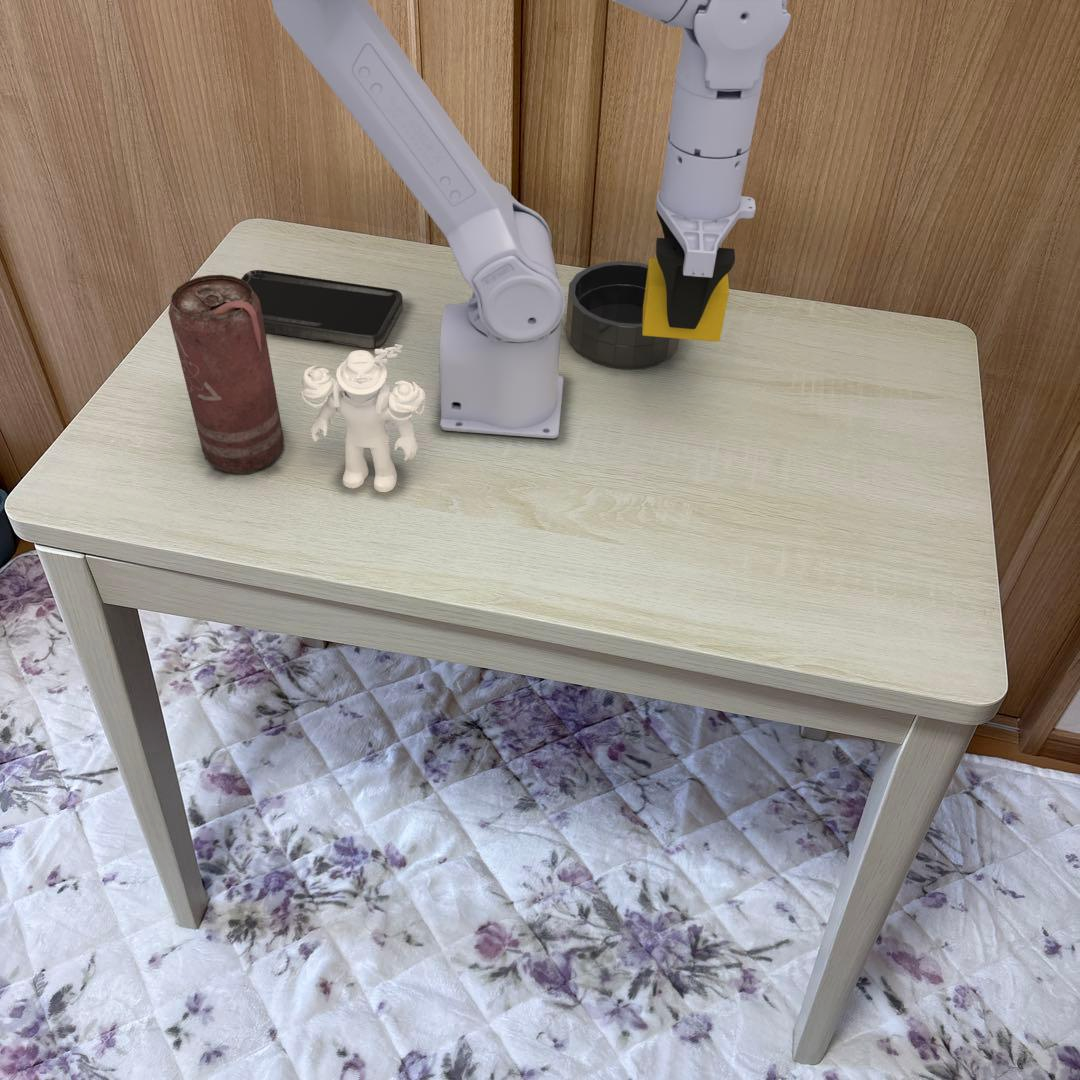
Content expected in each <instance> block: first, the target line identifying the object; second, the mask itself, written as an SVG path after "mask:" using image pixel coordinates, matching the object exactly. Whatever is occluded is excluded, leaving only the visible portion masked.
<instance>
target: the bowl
mask: <svg viewBox="0 0 1080 1080" xmlns="http://www.w3.org/2000/svg"><path fill="white" fill-rule="evenodd" d="M648 265H649V264H648V263H642V262H637V261H624V260H617V261H608V262H601V263H597V264H594V265H590V266H587V267H585V268H584V269H582V270H581V271H579V272H578V273H576V274H575V275H574V276H573V278H572V279H571V281H570V282H569V284H568V291H567V302H566V303H567V304H566V321H565V332H566V335H567V338H568V340H569V342H570V344H571V346H572V347H573V349H574V350H575V351H576V352H577V353H578V354H579V355H581V356H582V357H584V358H585V359H587V360H588V361H590V362H592V363H595V364H597V365H600V366H603V367H607V368H610V369H611V368H612V369H618V370H640V369H641V370H642V369H647V368H652V367H654V366H658V365H660V364H663V363H664V362H665V361H667V360H669V359H670V358H671V357H672V356H673V355H674V354H675V353H676V351H678V349H679V347H680V346H681V344H682V342H683V340H684V339H679V338H667V337H655V336H643V335H642V326H643V304H644V296H645V288H646V280H647V273H648Z"/></svg>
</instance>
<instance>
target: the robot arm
mask: <svg viewBox="0 0 1080 1080" xmlns="http://www.w3.org/2000/svg"><path fill="white" fill-rule="evenodd" d="M611 1H612V2H614V3H616V4H619V5H621V6H623V7H624V8H626V9H627V8H628V9H630V10H632V11H634V12H636V13H638V14H640V15H643V16H645V17H648V18H650V19H652V20H655V21H657V22H659V23H661V24H663V25H665V26H667V27H671V28H682V36H681V44H680V49H679V50H680V52H679V59H678V63H677V66H676V69H675V70H676V71H675V79H674V85H673V86H674V88H673V94H672V101H671V109H670V114H669V115H670V118H669V123H668V131H667V137H666V147H665V152H664V153H665V154H664V162H663V168H662V175H661V184H660V189H659V190H658V192H657V194H656V200H655V208H656V215H657V217H658V221H659V223H660V226H661V229H662V234H663V236H664V237H656V240H655V255H656V258H657V260H658V264H659V266H660V268H661V270H662V273H663V276H664V279H665V284H666V293H667V317H668V323H669V327H672V328H684V329H696V327H697V325H698V323H699V321H700V319H701V317H702V315H703V313H704V310H705V308H706V306H707V303H708V301H709V299H710V297H711V295H712V293H713V291H714V289H715V288H716V286H717V285H718V283H719V282H720V281H721V279H722V278H723V277H724V276H725V275H726V274H727V273H728V274H729V273H730V272H731V270H732V268H733V267H734V264H735V261H736V252H735V251H736V250H735V248H730V247H729V248H728V247H721V246H722V244H723V243H724V241H725V239H726V238H727V237H728V235H729V234H730V232H731V230H732V229H734V226H735V225H736V223H737V222H738V221H739V220H740V219H747V220H748V219H750V220H751V219H753V218H754V217H755V215H756V210H757V207H756V200H755V199H754V198H753V197H751V196H744V195H742V194H743V193H742V192H743V188H744V182H745V178H746V171H747V167H748V162H749V156H750V151H751V147H752V141H753V136H754V131H755V125H756V121H757V114H758V109H759V105H760V99H761V95H762V88H763V85H764V73H765V68H766V63H767V59H768V58H767V57H768V55H769V54H770V53H771V52H772V51H773V50H774V48H776V46H778V44H779V43H780V41H781V40H782V39H783V37H784V36H785V33H786V32H787V30H788V27H789V26H790V25H789V24H790V22H791V18H792V15H791V14H790V13H789V12H788V11H787V10H788V9H787V7H788V0H611ZM271 4H272V9H273V12H274V14H275V16H276V18H277V19H278V21H279V23H280V24H281V26H282V27H283V28H284V29H285V31H286V32H287V34H288V35H289V36H290V38H291V39H292V40H293V41H294V43H295V44H296V45H297V46H298V48H299V49H300V50H301V51H302V53H303V54H304V56H305V57H306V58H307V59H308V61H309V62H310V63H311V64H312V65H313V67H314V69H315V70H316V72H317V73H319V75H320V76H321V77H322V79H323V80H324V81H325V82H326V84H327V85H328V87H329V88H330V89H331V90H332V92H333V93H334V94H335V95H336V97H337V98H338V99H339V101H340V102H341V103H342V105H343V106H344V107H345V108H346V109H347V111H348V112H349V114H350V115H351V116H352V117H353V119H354V120H355V121H356V122H357V124H358V125H359V126H360V128H361V129H362V131H363V132H364V133H365V134H366V136H368V138H369V139H370V141H371V142H372V144H373V145H374V146H375V147H376V148H377V150H378V151H379V152H380V154H381V155H382V157H383V158H384V159H385V160H386V162H387V163H388V164H389V166H390V167H391V168H392V169H393V170H394V172H395V173H396V175H397V176H398V177H399V179H400V180H401V181H402V182H403V183H404V185H405V186H406V187H407V189H408V190H409V192H410V193H412V195H413V197H414V198H415V199H416V200H417V201H418V203H419V204H420V205H421V207H422V208H423V210H424V211H425V212H426V213H427V215H428V216H429V217H430V218H431V220H432V221H433V223H435V224H436V226H437V228H438V229H439V230H440V231H441V233H442V234H443V235H444V237H445V238H446V241H447V243H448V245H449V248H450V251H451V252H452V254H453V257H454V259H455V262H456V264H457V267H458V269H459V271H460V274H461V276H462V278H463V280H464V281H465V282H466V284H467V285H468V286H469V287H470V289H471V291H472V295H471V298H469V299H468V301H466V302H461V303H453V304H446V305H445V306H444V309H443V312H442V316H441V317H442V318H441V323H440V333H439V346H438V347H439V348H438V349H439V350H438V351H439V352H438V364H439V365H438V367H439V389H440V390H439V391H440V392H439V394H440V421H439V427H440V429H441V430H442V431H446V432H447V431H449V432H462V433H475V434H488V435H498V436H499V435H502V436H511V437H512V436H514V437H527V438H540V439H557V438H558V437H559V435H560V425H561V424H560V423H561V413H562V412H561V411H562V402H563V401H562V400H563V391H564V377H563V376H562V375H560V374H559V369H560V353H561V338H562V337H561V336H562V320H563V316H564V313H565V310H566V306H567V304H566V303H567V301H566V300H567V299H566V293H565V290H564V287H563V285H562V282H561V281H560V278H559V273H558V268H557V264H556V260H555V256H554V255H555V254H554V252H553V247H552V244H553V243H552V242H553V238H552V234H551V230H550V229H551V228H550V227H549V225H548V223H547V221H546V220H545V219H544V218H543V216H541V215H540V213H538V212H537V211H535V210H533V209H531V208H530V207H527V206H526V205H523V204H522V203H520V202H519V201H518V200H517V199H516V198H515V197H514V196H513V195H512V194H511V191H510V190H509V189H508V188H507V186H506V185H505V184H502V183H499V182H497V181H496V180H494V179H493V178H492V176H491V175H490V173H489V172H488V171H487V168H485V166H484V165H483V163H482V162H481V160H480V159H479V158H478V157H477V155H476V154H475V152H474V151H473V150H472V148H471V146H470V145H469V143H468V142H467V140H466V139H465V137H464V136H463V135H462V134H461V132H460V130H459V129H458V128H457V126H456V125H455V124H454V122H453V120H451V117H449V115H448V114H447V112H446V111H445V109H444V108H443V106H442V105H441V103H440V102H439V101H438V99H437V98H436V96H435V95H434V94H433V92H432V91H431V89H430V88H429V86H428V84H427V83H426V82H425V81H424V79H423V78H422V77H421V75H420V73H419V72H418V71H417V69H416V68H415V67H414V65H413V63H412V62H411V61H410V59H409V58H408V56H407V55H406V53H405V52H404V51H403V50H402V48H401V47H400V45H399V43H398V41H396V39H395V37H394V36H393V35H392V34H391V32H390V31H389V29H388V28H387V27H386V25H385V24H384V22H383V21H382V19H381V18H380V16H379V15H378V13H377V12H376V11H375V9H374V8H373V6H372V5H371V4H370V2H369V1H368V0H271Z"/></svg>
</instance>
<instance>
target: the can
mask: <svg viewBox="0 0 1080 1080" xmlns="http://www.w3.org/2000/svg"><path fill="white" fill-rule="evenodd" d="M170 298H171V299H170V303H169V308H168V312H167V314H168V317H169V321H170V325H171V328H172V334H173V338H174V340H175V345H176V349H177V354H178V358H179V361H180V366H181V370H182V374H183V379H184V381H185V386H186V390H187V395H188V397H189V402H190V406H191V411H192V414H193V418H194V422H195V426H196V430H197V433H198V434H197V435H198V439H199V442H200V447H201V450H202V454H203V456H204V459H205V460H206V461H207V462H208V463H209V464H210V465H211V466H212V467H214V468H215V469H217V470H219V471H221V472H224V473H227V474H232V475H248V474H252V473H255V472H256V473H257V472H259V471H262V470H264V469H266V468H267V467H270V466H271V465H272V464H273V463H274V462H275V461H276V460H277V459H278V457H279V455H280V454H281V452H282V451H283V449H284V441H285V438H284V433H283V426H282V421H281V414H280V408H279V404H278V397H277V391H276V386H275V385H276V384H275V381H274V373H273V369H272V364H271V363H272V362H271V359H270V358H271V357H270V352H269V346H268V341H267V340H268V339H267V334H266V332H265V328H264V322H263V316H262V311H261V305H260V301H259V299H258V297H257V295H256V294H255V292H254V291H253V290H252V289H251V287H250V285H249V284H248V283H246V282H245V281H244V280H242V278H240V277H237V276H233V275H227V274H207V275H203V276H198V277H195V278H192V279H190V280H189V279H188V280H187V281H185V282H183V283H182V284H181V285H179V286H178V287H176V289H175V290H174V291H173V293H172V294H171V297H170Z"/></svg>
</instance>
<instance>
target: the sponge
mask: <svg viewBox="0 0 1080 1080" xmlns="http://www.w3.org/2000/svg"><path fill="white" fill-rule="evenodd" d="M647 265H648V273H647V280H646V288H645V296H644V304H643V326H642V335H643V336H655V337H667V338H679V339H683V340H693V341H705V342H715V343H716V342H718V343H719V342H720V341H721V337H722V332H723V331H722V330H723V327H724V321H725V316H726V311H727V305H728V300H729V295H730V286H729V272H728V273H727V274H726V275H725V276H724V277H723V278H722V279H721V281H720V282H719V283H718V285H717V286H716V288H715V289H714V291H713V293H712V295H711V297H710V299H709V301H708V303H707V306H706V308H705V310H704V313H703V315H702V317H701V319H700V321H699V323H698V325H697V327H696V329H684V328H672V327H669V323H668V317H667V293H666V284H665V279H664V276H663V273H662V270H661V268H660V266H659V264H658V260H657V257H656V258H655V257H649V259H648V264H647Z"/></svg>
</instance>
